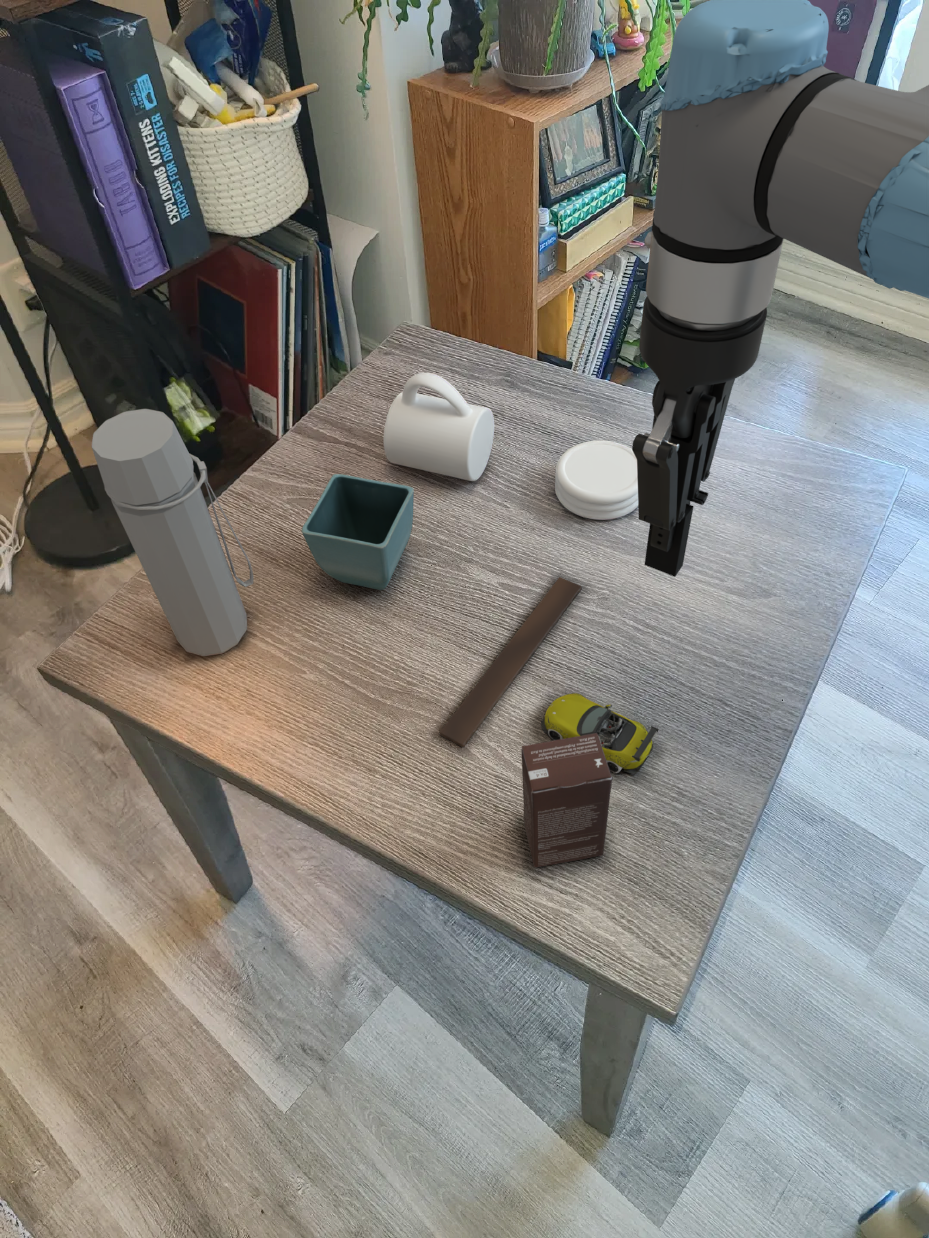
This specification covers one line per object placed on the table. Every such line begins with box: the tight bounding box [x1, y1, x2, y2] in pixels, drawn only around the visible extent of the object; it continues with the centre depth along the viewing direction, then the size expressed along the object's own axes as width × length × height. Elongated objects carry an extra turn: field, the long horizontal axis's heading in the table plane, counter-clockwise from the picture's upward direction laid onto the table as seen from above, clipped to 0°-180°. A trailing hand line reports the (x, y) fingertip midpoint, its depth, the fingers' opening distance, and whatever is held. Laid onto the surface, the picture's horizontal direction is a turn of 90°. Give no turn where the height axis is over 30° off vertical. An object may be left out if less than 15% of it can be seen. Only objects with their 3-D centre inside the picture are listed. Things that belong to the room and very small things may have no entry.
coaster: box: [554, 439, 638, 521], centre depth 99 cm, size 10×10×4 cm
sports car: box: [540, 692, 660, 776], centre depth 79 cm, size 5×10×3 cm, turn 56°
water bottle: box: [91, 408, 254, 657], centre depth 81 cm, size 9×8×25 cm
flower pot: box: [301, 473, 415, 591], centre depth 91 cm, size 9×9×9 cm
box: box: [521, 733, 613, 868], centre depth 69 cm, size 6×4×12 cm
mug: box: [383, 372, 495, 482], centre depth 100 cm, size 8×10×12 cm
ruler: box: [438, 576, 583, 748], centre depth 86 cm, size 3×22×1 cm, turn 147°
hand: (663, 565), depth 73 cm, fingers closed
